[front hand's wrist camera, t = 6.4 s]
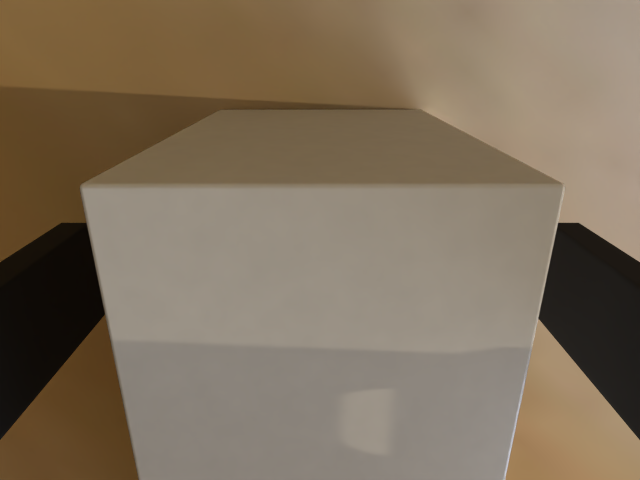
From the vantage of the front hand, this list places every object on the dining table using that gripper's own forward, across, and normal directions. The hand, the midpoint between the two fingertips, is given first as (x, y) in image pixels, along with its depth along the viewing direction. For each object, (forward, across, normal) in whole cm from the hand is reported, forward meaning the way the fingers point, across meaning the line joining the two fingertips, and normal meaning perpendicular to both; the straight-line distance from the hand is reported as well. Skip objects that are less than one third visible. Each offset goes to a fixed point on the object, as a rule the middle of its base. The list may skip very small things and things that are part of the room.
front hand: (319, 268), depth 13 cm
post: (+2, 0, -37) cm, 37 cm away
